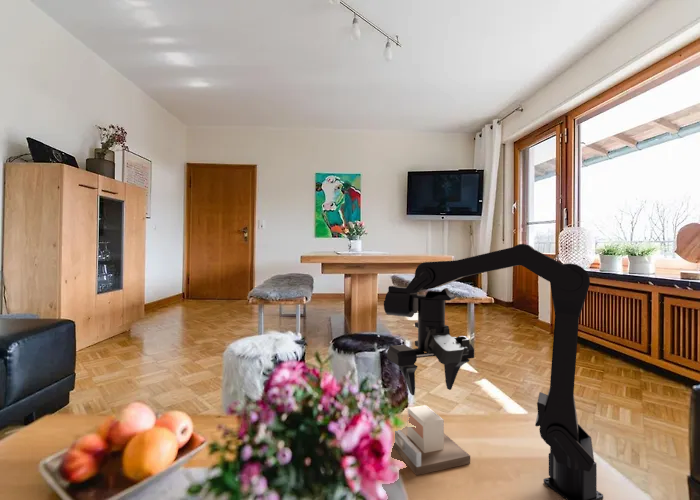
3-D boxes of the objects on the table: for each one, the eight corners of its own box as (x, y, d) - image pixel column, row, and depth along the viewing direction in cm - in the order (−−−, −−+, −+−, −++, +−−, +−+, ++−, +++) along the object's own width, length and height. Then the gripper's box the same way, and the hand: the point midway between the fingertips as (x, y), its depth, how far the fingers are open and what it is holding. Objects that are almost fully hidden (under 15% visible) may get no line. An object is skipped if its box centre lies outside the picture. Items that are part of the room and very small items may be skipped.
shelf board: (470, 463, 67) (470, 442, 67) (414, 475, 63) (415, 453, 63) (431, 428, 80) (431, 411, 80) (383, 437, 76) (383, 419, 76)
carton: (425, 432, 76) (425, 405, 76) (443, 449, 69) (444, 419, 69) (407, 435, 74) (407, 407, 74) (424, 453, 67) (424, 422, 68)
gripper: (412, 330, 63) (412, 414, 63) (492, 324, 69) (492, 401, 69) (386, 319, 73) (385, 392, 73) (458, 315, 80) (458, 381, 79)
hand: (431, 391), depth 73 cm, fingers open, 9 cm apart
